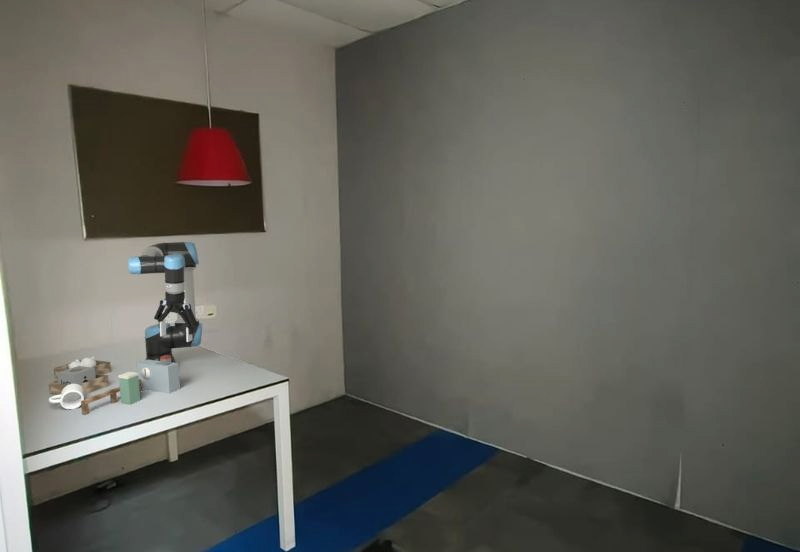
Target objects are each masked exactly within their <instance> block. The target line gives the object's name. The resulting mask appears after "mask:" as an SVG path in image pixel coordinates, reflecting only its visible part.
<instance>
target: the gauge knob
mask: <svg viewBox="0 0 800 552" xmlns="http://www.w3.org/2000/svg"><path fill="white" fill-rule="evenodd" d="M160 361H161V364H162V365H167V364H170V363H171V356H170V355H164V356H161V357H160Z"/></svg>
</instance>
